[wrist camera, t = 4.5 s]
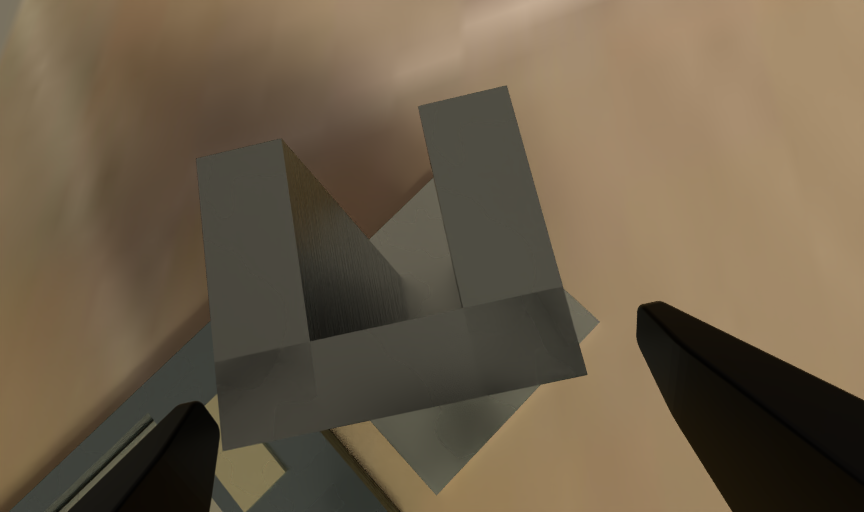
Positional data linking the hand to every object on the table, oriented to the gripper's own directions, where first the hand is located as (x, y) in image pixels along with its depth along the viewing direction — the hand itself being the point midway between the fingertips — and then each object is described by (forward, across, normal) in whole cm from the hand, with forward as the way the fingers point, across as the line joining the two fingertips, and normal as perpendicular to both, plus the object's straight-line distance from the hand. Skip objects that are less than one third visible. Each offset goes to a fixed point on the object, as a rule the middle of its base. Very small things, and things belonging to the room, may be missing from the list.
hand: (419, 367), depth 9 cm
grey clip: (+7, 0, +5) cm, 9 cm away
